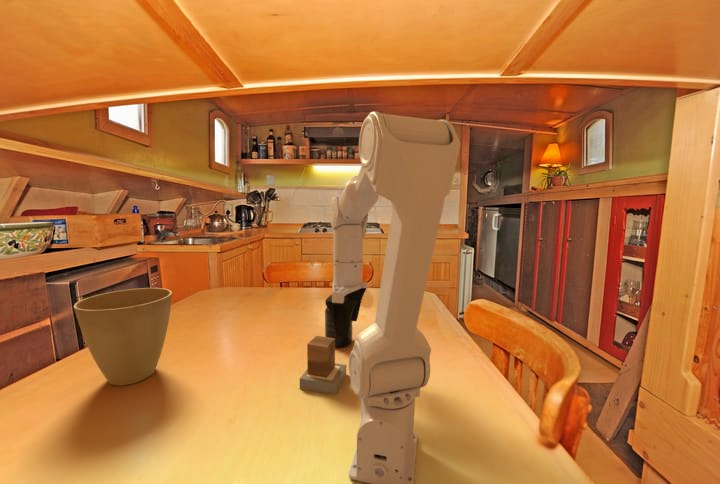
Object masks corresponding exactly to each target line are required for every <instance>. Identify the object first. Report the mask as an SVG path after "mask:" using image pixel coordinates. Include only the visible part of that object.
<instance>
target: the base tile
mask: <svg viewBox="0 0 720 484" xmlns="http://www.w3.org/2000/svg"><path fill="white" fill-rule="evenodd" d="M346 376H347V364H345V363H344V364H343V363H336V362H335V368H334V369H333V370H332V372H331V373H330V374H329V376H328V377H327V378H325V377H320V376H314V375H309V374H308V368H307V369H306V370H305V371H304V372H303V374H302V375H301V376H300V377H299V389H300V390H304V391H305V390H306V391H310V392H311V391H312V392H319V393H325V394H330V395H336V394H337V393H338V390H339V388H340V387H341V385H342V383H343V382H344V379H345V377H346Z"/></svg>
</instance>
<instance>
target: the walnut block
mask: <svg viewBox="0 0 720 484" xmlns="http://www.w3.org/2000/svg"><path fill="white" fill-rule="evenodd" d="M306 345H307V346H306V347H307V359H306V360H307V361H306V362H307V369H308V374H309V375H314V376H320V377H325V378H327V377H328V376H329V374H330V373H331V372H332V370H333V369H334V368H335V363H336V348H335V338H329V337H325V336H322V335H321V336H320V335H316V336H314V337H313V338H312V339H311V340H310V341H309V342H308V343H307V344H306Z"/></svg>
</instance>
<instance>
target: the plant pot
mask: <svg viewBox="0 0 720 484" xmlns="http://www.w3.org/2000/svg"><path fill="white" fill-rule="evenodd" d="M172 297H173V292H172V290H170V289H167V288H162V287H161V288H160V287H144V288H143V287H141V288H140V287H139V288H131V289H122V290H115V291H111V292H109V291H108V292H105V293H100V294H97V295H92V296H89V297H87V298H83V299H81V300H79V301H77V302H75V303H74V305H73V309H74V313H75V316H76V320H77V323H78V325H79V327H80V331H81V333H82V336H83V339H84V342H85V344H86V345H87V348H88V351H89V352H90V355H91V356H92V359H93V360H94V362H95V363H96V366H97V367H98V369H99V370H100V372H101V374H102V375H103V376H104V378H105V379H106V381H107V383H109V384H110V385H112V386H117V387H118V386H127V385H132V384H136V383H138V382H139V383H140V382H141V381H144V380H145V379H148V378H149V377H150V376H152V375H153V374H154V373H155V372H156V369H157V366H158V362H159V360H160V357H161V356H162V351H163V347H164V344H165V340H166V336H167V331H168V327H169V321H170V315H171V314H170V313H171V307H172Z"/></svg>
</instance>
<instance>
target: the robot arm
mask: <svg viewBox="0 0 720 484" xmlns="http://www.w3.org/2000/svg"><path fill="white" fill-rule="evenodd" d="M460 147H461V141H460V139H459V136H458V135H457V132H456V130H455V128H454V126H453V124H452V123H451V122H450V121H449V120H447V119H432V118H431V119H430V118H423V117H422V118H421V117H413V116H412V117H411V116H404V115H395V114H389V113H388V114H386V113H381V112H380V111H371V112H370V113H369V114H368V115H367V116H366V117H365V119H364V120H363V122H362V124H361V128H360V132H359V138H358V157H359V161H360V164H361V167H360V169H359V173H358V175H354V176H353V177H351V178H350V179H349V180H348V181H347V183H345V184H346V185H345V187H344V189H343V190H342V192H341V194H340V196H332V198H331V201H330V203H329V204H330V205H329V221H330V226H331V228H332V229H333V233H332V234H333V235H332V236H333V241H332V242H333V245H332V256H333V257H332V265H333V267H332V270H333V271H332V274H333V275H332V278H333V279H332V282H331V283H332V284H331V287H332V292H331V295H332V297H329V296H328V297H327V298H326V299H325V305H326V308H328V309H329V311H330V313H331V316H332V319H333V323H334V327H335V331H336V335H337V336H348V333H349V329H350V322H351V321H352V322H357V321H358V317H359V313H360V307H361V304H362V300H363V298H364V297H363V296H364V295H365V292H366V291H367V288H368V287H369V283H368V282H364V280H363V261H364V260H363V257H364V255H363V253H364V238H365V237H366V231H367V230H366V229H367V225H368V219H369V212H370V211H371V210H372V208H373V207H374V206H375V205H376V203H377V202H378V200H379V196H381V198H384V199H386V200H389V202H390V204H391V207H392V210H391V217H390V223H389V229H388V234H387V236H388V237H387V243H386V249H385V255H384V262H383V267H382V268H383V269H382V274H381V280H380V288H379V293H378V301H377V306H376V315H375V321H374V322H373V323H372V324H371V323H370V325H369V326H367V327H366V328H365V329H363V330H362V331H361V332H358V334H357V335H356V336H355V341H354V344H353V348H352V350H351V351H350V354H349V356H348V372H349V373H348V374H349V381H350V383H351V387H352V390H353V392H354V394H355V395H356V396H358V397H359V399H360V400H361V403H360V404H361V406H360V407H361V408H360V409H361V410H360V413H361V414H360V423H359V427H358V429H357V433H356V451H355V453H354V455H353V459H352V461H351V465H350V468H349V472H348V477H349V478H350V479H351V480H355V481H358V482H362V483H366V484H367V483H368V484H414V482H415V471H416V456H417V448H418V447H417V446H418V445H417V444H418V434H417V433H416V432H415V410H416V409H415V407H416V405H415V403H416V398H418V397H421V388H425V387H426V386H427V385H428V383H429V380H430V378H431V377H430V376H431V364H430V362H431V361H430V358H431V352H432V349H431V346H430V344H429V341H428V340H427V338H426V337H425V335H424V333H422V331H421V330H419V328H417V327H418V322H419V318H420V314H421V309H422V304H423V299H424V295H425V291H426V286H427V282H428V277H429V273H430V270H431V269H430V268H431V264H432V260H433V255H434V250H435V247H436V246H435V245H436V241H437V236H438V233H439V228H440V224H441V223H440V222H441V219H442V213H443V210H444V204H445V199H446V197H447V196H449V195H450V193H451V188H452V183H453V180H454V175H455V171H456V167H457V166H456V165H457V162H458V158H459V157H458V156H459V153H460Z"/></svg>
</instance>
